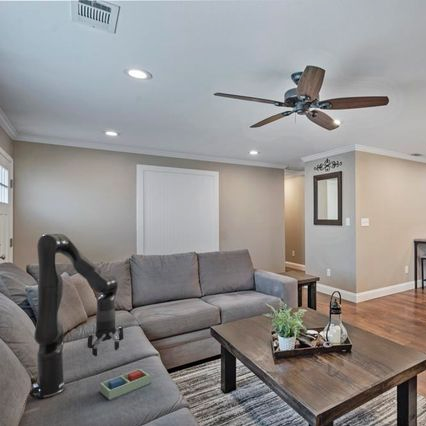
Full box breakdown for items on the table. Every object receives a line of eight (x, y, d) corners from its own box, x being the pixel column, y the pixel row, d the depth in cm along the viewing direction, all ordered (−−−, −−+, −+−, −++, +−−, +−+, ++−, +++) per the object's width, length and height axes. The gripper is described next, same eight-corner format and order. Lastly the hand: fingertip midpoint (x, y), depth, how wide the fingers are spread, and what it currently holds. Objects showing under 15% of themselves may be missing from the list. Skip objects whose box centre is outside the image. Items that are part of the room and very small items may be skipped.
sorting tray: (109, 400, 145) (109, 391, 145) (100, 391, 152) (99, 383, 152) (149, 383, 159) (149, 375, 159) (139, 376, 166) (139, 368, 166)
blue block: (112, 393, 149) (111, 383, 149) (108, 390, 152) (108, 381, 152) (122, 389, 153) (122, 379, 153) (119, 386, 155) (118, 377, 155)
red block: (131, 385, 156) (131, 376, 156) (128, 382, 159) (127, 373, 159) (141, 381, 159) (141, 372, 159) (137, 378, 162) (137, 370, 162)
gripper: (119, 313, 161) (119, 346, 161) (85, 320, 150) (85, 355, 150) (125, 316, 157) (125, 349, 156) (90, 324, 146) (90, 360, 145)
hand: (106, 352), depth 153 cm, fingers open, 8 cm apart
